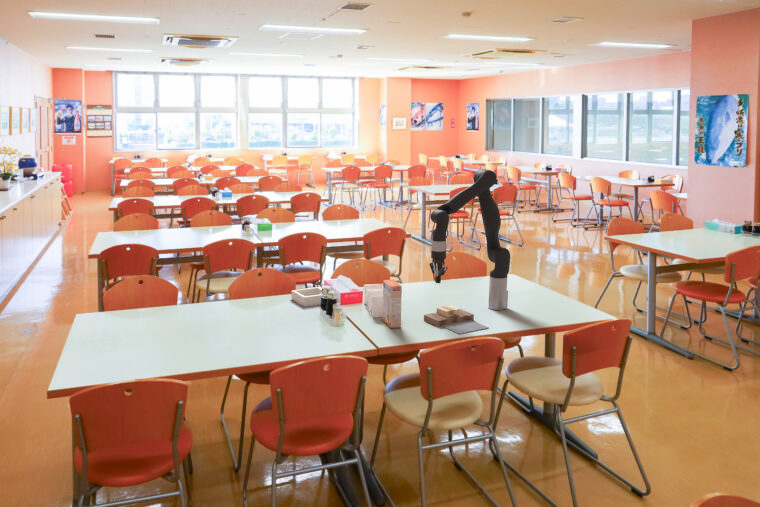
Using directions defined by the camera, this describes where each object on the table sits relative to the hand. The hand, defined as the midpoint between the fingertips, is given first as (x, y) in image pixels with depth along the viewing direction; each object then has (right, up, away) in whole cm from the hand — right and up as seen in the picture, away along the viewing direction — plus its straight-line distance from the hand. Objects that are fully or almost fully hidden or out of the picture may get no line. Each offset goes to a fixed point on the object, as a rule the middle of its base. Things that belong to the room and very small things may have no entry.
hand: (437, 282), depth 327 cm
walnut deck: (+5, -19, -5) cm, 20 cm away
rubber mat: (+12, -21, -15) cm, 28 cm away
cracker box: (-24, -20, -12) cm, 33 cm away
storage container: (-30, -15, +13) cm, 36 cm away
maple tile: (+5, -15, -5) cm, 17 cm away
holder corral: (-67, -11, +29) cm, 74 cm away
